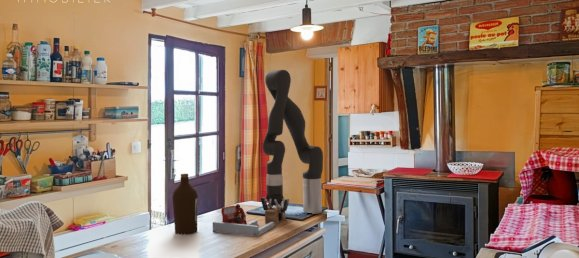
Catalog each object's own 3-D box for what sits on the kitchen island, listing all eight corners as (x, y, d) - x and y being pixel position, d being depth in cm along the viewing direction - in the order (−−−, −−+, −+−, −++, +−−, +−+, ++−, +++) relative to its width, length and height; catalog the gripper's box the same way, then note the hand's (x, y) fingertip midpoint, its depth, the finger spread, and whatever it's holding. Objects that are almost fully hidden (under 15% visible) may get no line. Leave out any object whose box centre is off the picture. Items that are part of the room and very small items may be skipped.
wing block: (276, 218, 220) (276, 205, 220) (285, 218, 218) (285, 206, 218) (265, 224, 209) (264, 211, 209) (274, 225, 207) (273, 211, 207)
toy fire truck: (250, 227, 205) (249, 204, 204) (227, 233, 196) (226, 208, 195) (240, 224, 210) (240, 201, 209) (218, 230, 201) (217, 206, 201)
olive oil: (174, 236, 192) (172, 176, 191) (172, 229, 202) (171, 173, 201) (200, 233, 195) (198, 175, 194) (197, 227, 205) (195, 171, 204)
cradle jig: (232, 222, 214) (232, 213, 213) (274, 226, 205) (274, 217, 205) (212, 231, 199) (212, 222, 198) (257, 236, 190) (256, 226, 190)
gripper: (292, 183, 213) (292, 219, 214) (264, 181, 219) (265, 217, 220) (285, 185, 206) (285, 223, 207) (257, 184, 212) (257, 220, 213)
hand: (275, 220), depth 214 cm, fingers closed on wing block, 4 cm apart
